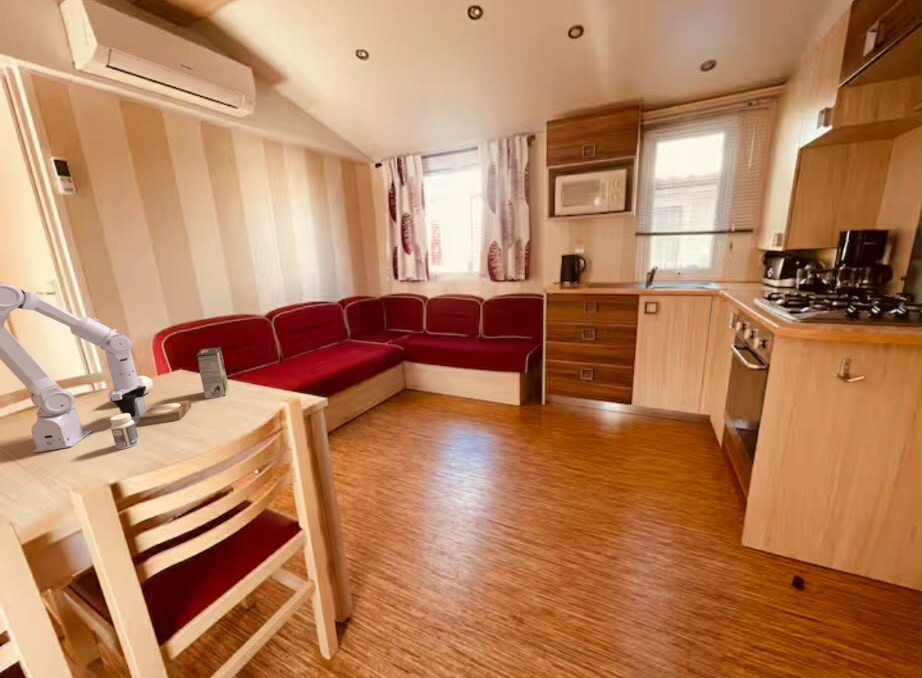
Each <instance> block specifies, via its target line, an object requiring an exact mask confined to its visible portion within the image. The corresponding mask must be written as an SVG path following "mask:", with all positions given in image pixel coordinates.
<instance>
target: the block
mask: <svg viewBox="0 0 922 678" xmlns="http://www.w3.org/2000/svg"><path fill="white" fill-rule="evenodd" d="M147 410H148V409H147V406H146V402H145V399H144V396H143V397H138V398H135V416H134V417H131V420H133V421H134V422H137V421H140V420H139V418H140V417H141V416H142V415H143V414H144V413H145V412H146V411H147ZM119 413H120V414H123V413H122V411H121V410H120V409H119Z"/></svg>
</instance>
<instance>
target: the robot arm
mask: <svg viewBox="0 0 922 678" xmlns="http://www.w3.org/2000/svg"><path fill="white" fill-rule="evenodd" d="M15 309H20V310H26V311H27V310H28V311H35V312H37V313H38V314H41V315H42V316H45V317H47V318H50V319H52V320H53V321H56V322H58V323H61V324H62V325H65V326H67V327H69V329H70V333H71V335H74V336H76V337H78V338H80V339H81V340H84V341H87V342H89V343H91V344H93V345H95V346H97V347H100V349H101V350H103V351H105V356H106V361H107V365H108V368H109V373H110V376H111V379H112V383H113V387H114V388H113V389H114V390H113V389H112V390H113V393H112V394H111V397H112V398H111V401H110V402H111V403H112V402H113V403H114V404H113V403H112V404H113V405H115V406H117V407H118V409H119V411H120V410H121V411H122V413H123V414H124V413H129V414H130V415H131V417H134V416H135V398H138V397H143V398H144V396H145V394H144V392H145V390H146V386H144V383H143V381H142V378H138V376H139V375H138V373H137V369H136V365H135V361H134V356H133V354H132V348H133V346H134V342H133V341H132V340H131V338H130V337H128V336H127V335H125V334H122V333H118V332H117V331H118V330H117V329H116V328H110V327H109V326H107V325H105V324H102V323H101V322H100V319H98V318H96V317H93V318H92V317H89V316H84V317H78V316H77V315H75V314H73V313H71V312H70V311H68V310H65V309H64V308H62V307H60V306H58V305H57V304H55V303H53V302H51V301H49V300H47V299H46V298H43V297H41V296H40V295H37V294H36V293H33V292H31V291H27V290H25V289H20V288H19V287H18V286H16V285H13V284H10V283H5V282H0V361H1V362H2V363H3V364H4V365H5V366H6V367H7V368H8V369H9V370H10V371H11V372H12V374H14V376H15V377H16V378H17V379H18V380H19V382H21V383H22V384H23V385H24V387H25V389H26V390H27V391H28V392H29V394H30V400H31V402H32V403H33V405H34V406H37V407H38V409H37V412H36V417H37V419H36V421H35V423H34V424H33V425H32V427H31V435H32V437H33V440H34V444H35V445H36V448H35V449H34V450H33V453H40V452H46V451H55V450H59V449H65V448H71V447H73V446H75V445H76V444H77V443H79V442H80V441H81V440H83V439H84V438H85V437H87V436H88V435H89V434H90V433H92V430H90V429H88V430H83V427H82V425H81V421H80V418H79V414H78V411H77V407H76V404H75V401H76V398H75V395H74V394H73V393H72V392H70V391H68V390H66V389H63V388H62V387H61V386H60V385H59V384H58V383H57V382H55V380H53V379H52V378H51V377H50V376H49V375H48V374H47V373H46V371H45V370H44V369H43V368H42V367H41V366H40V364H39V363H38V362H37V361H36V360H35V358H33V356H31V354H30V353H29V352H28V351H27V350H26V348H24V346H23V345H22V343H20V342H19V341H18V340H17V338H15V336H14V335H13V334H12V333H11V332H10V330H9V329H8V328H7V327H6V326H5V323H6V321H7V319H8V317H9V316H10V314H11V313H12V312H13V311H14V310H15Z"/></svg>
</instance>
